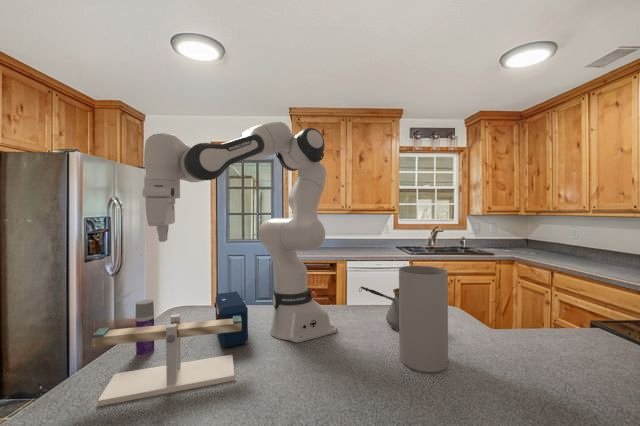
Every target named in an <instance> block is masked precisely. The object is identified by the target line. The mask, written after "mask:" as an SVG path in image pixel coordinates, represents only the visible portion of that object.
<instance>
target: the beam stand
mask: <svg viewBox="0 0 640 426" xmlns="http://www.w3.org/2000/svg"><path fill="white" fill-rule="evenodd" d="M173 322H178V323H181V313H175V314H171V316H170V323H168V324H166V325H167V327H166V339H165V344H166V345H165V346H166V347H165V349H166V351H165V353H166V354H165V355H166V356H165V357H166V358H165V359H166V361H165V363H166V365H159V366H155V367H148V368H147V367H146V368H142V369H135V370H129V371H122V372H117V373H114V375H113V376H112V378H111V379H110V381H109V382H108V384H107V385H106V387H105V389H104V390H103V392H102V393H101V395H100V397H99V398H98V400H97V407H102V406H107V405H108V406H109V405H112V404H117V403H124V402H128V401H134V400H138V399H143V398H148V397H149V398H150V397H155V396H158V395H164V394H165V395H166V394H169V393H175V392H180V391H186V390H190V389H191V390H192V389H195V388H201V387H202V388H203V387H206V386H212V385H216V384H221V383H227V382H228V383H229V382H233V381H235V379H236V378H235V368H234V367H235V366H234V357H233V354H228V355H222V356H215V357H209V358H204V359H197V360H191V361H185V362H182V349H181V348H182V343H181V340H182V339H181V338H182V337H180V338H177V324H171V323H173Z"/></svg>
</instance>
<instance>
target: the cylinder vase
mask: <svg viewBox="0 0 640 426" xmlns="http://www.w3.org/2000/svg"><path fill="white" fill-rule="evenodd" d="M448 272H449V271H448V270H446V269H445V268H442V267H441V268H440V267H438V266H428V265H404V266H400V267H399V268H398V288H399V330H398V333H399V338H398V341H399V342H398V343H399V344H398V345H399V347H398V350H399V351H398V352H399V354H398V355H399V359H400V361H401V363H403V364H404V365H405V366H406V367H408V368H410V369H412V370H413V371H417V372H421V373H427V374H432V373H439V372H442V371H444V370H445V369H447V368H448V366H449V278H448V277H449V273H448Z"/></svg>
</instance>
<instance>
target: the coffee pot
mask: <svg viewBox="0 0 640 426" xmlns="http://www.w3.org/2000/svg"><path fill="white" fill-rule="evenodd" d="M358 289H359V290H358V292H359V293H361V292H362V290H364V291H366V292H369V293H371V294H373V295H376V296H379V297H383V298H386V299H388V300H390V301H391V304H390V306H389V309H388V311H387V313H386V316H385V320H386V322H387V324H388V325H389V326H390V328H392V329H393V330H395V331H399V287H397V288H394V289H393V290H392V292H393V293H394V297H392V296H388V295H387V294H386V295H385V294H384V293H382V292H379V291H376V290H375V289H371V288H368V287H366V286H365V287H364V286H360V287H359V288H358Z"/></svg>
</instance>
